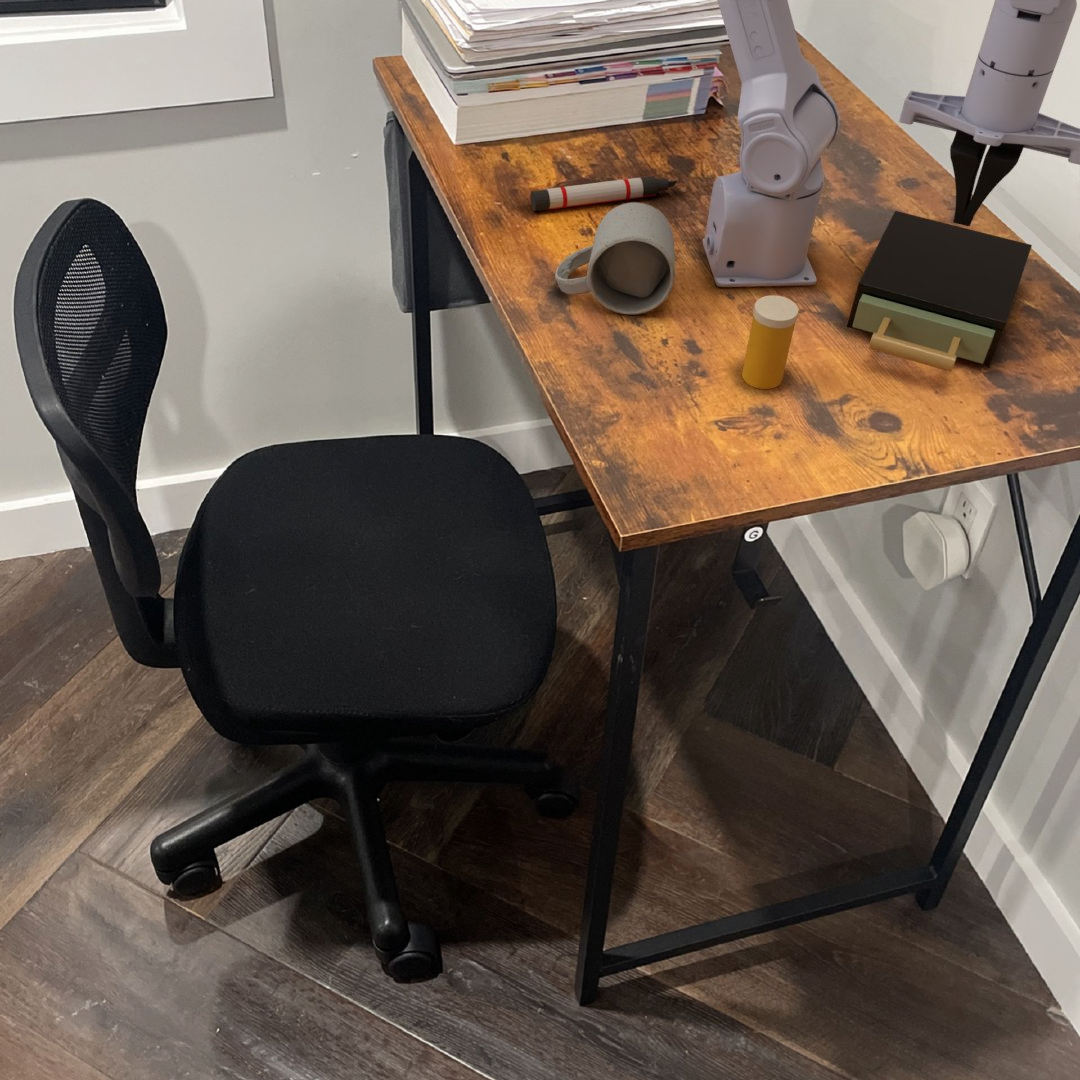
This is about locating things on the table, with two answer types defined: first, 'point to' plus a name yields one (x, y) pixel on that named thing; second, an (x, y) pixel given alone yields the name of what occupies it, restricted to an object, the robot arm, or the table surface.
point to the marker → (598, 192)
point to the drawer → (921, 333)
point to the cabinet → (946, 272)
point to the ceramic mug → (625, 261)
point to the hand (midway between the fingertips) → (963, 219)
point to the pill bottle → (769, 341)
